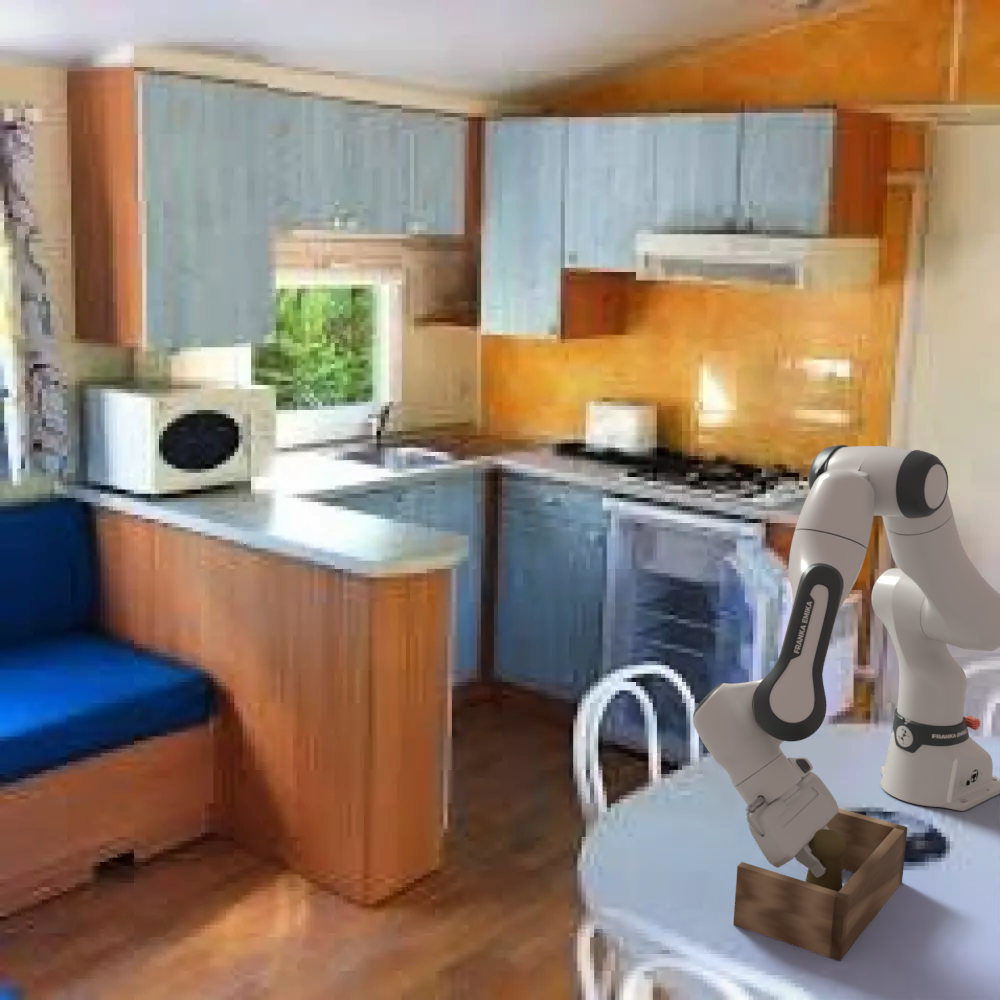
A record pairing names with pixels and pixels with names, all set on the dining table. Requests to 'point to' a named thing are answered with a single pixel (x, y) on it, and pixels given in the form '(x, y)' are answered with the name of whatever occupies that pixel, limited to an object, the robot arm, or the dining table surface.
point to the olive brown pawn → (828, 858)
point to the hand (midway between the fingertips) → (829, 866)
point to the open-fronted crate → (826, 890)
